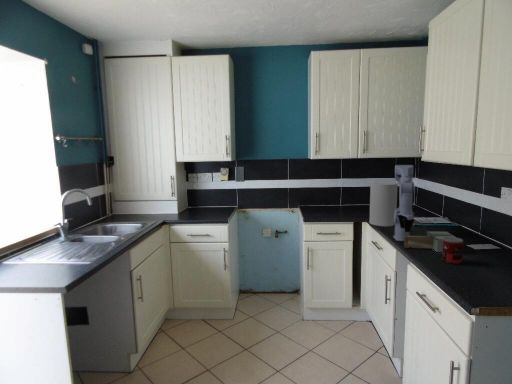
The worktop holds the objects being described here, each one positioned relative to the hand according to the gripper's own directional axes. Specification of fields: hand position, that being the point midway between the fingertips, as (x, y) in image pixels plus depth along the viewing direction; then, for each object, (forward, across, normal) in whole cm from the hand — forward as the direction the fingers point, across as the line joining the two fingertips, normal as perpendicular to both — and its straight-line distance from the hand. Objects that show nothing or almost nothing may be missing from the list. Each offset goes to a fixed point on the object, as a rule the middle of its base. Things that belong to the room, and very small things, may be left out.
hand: (405, 230), depth 175 cm
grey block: (+9, -2, -18) cm, 20 cm away
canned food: (+10, -21, -15) cm, 28 cm away
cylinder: (+10, +53, -1) cm, 54 cm away
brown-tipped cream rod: (+9, -2, -7) cm, 11 cm away
